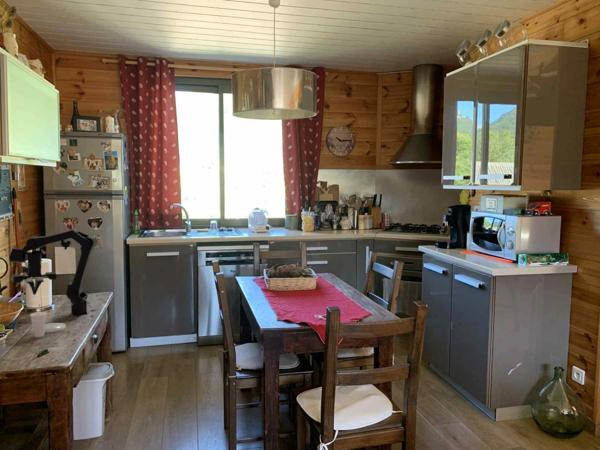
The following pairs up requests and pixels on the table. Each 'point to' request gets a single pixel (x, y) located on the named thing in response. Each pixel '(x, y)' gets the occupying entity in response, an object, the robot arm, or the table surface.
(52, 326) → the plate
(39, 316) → the smoothie
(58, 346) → the table surface
